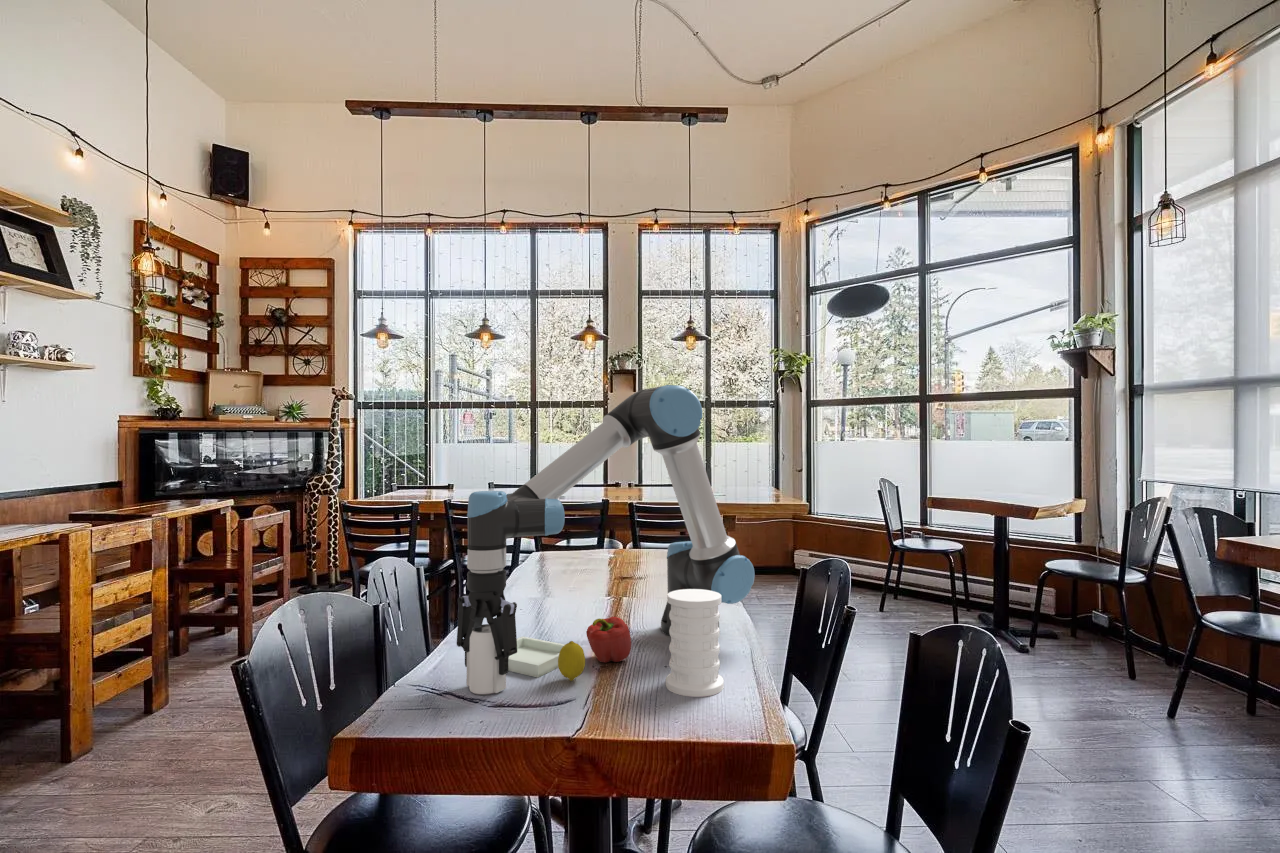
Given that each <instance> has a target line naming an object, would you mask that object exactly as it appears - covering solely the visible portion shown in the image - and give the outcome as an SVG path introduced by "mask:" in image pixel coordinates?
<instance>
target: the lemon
mask: <svg viewBox="0 0 1280 853" xmlns="http://www.w3.org/2000/svg"><path fill="white" fill-rule="evenodd" d="M585 666H586V654H585V651H584V648H583V647H582V646H581V645H580V644H579V643H576V642H575V641H573V640H571V641H569V642H567V643H566V644H565V645H564V646H563V647H562V648H561V650H560V653H559V657H558V667H559V668H558V671H559V673H560V674H561V675H562V676H563V677H565V678H567V679H568V680H569V681H570V682H572V681H574V680H575V679H576V678H578V677H580V676H581V675H582V674H583V672H584V670H585Z"/></svg>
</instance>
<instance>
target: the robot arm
mask: <svg viewBox="0 0 1280 853" xmlns="http://www.w3.org/2000/svg"><path fill="white" fill-rule="evenodd" d="M702 419H703V407H702V404H701V402H700V399H699V398H698V396H697V395H696V394H695V393H694V392H693V391H692V390H691V389H689V388H688V387H685V386H683V385H680V384H679V385H677V384H676V385H673V384H666V385H662V386H661V385H660V386H656V387H651V388H643V389H640V390H637V391H636V392H634V393H632V394H631V395H630V396H628V397H627V398H625V399H624V400H623V401H622V402H620V403H619V404H618V405H617V406H616V407H614V408H613V409H612V410H611V411H610V412H607V414H605V415H604V416H603V417H602V423H600V424H599V425H598V426H597V427H596V428H593V430H591V431H590V432H589V433H588V434H587V435H585V436H584V437H582V438H581V439H580V440H579V441H578V442H576V443H575V444H574V445H572V446H571V447H570V448H569V449H568V450H566V451H565V452H563V453H562V454H561V455H560V456H558V457H557V458H556V459H554V460H553V461H552V462H551V463H549V464H548V465H547V466H546V467H544V468H543V469H542V470H540V471H539V472H538V473H536V475H534V476H533V477H531V478H530V479H529V480H528V481H526V482H525V483H524V484H523V485H521V486H519V487H518V488H517V489H516V490H514V491H513V492H512V493H506V492H505V491H502V490H478V491H473V492H472V493H471V494H469V496H468V502H467V514H466V517H467V557H466V558H467V561H466V562H467V563H466V568H467V569H468V572H467V573H466V576H467V577H466V579H467V580H466V584H467V585H466V588H467V591H469V593H468V594H467V595H463V596H460V597H458V598H457V605H458V619H457V620H458V621H457V632H456V647H458V648H459V647H461V648H462V649H463V652H464V666H465V668H466V686H467V687H469V652H470V635H471V633H472V628H474V629H476V628H479V627H480V626H481V625H483V623H484V620H485V619H486V624H490V628H491V631H492V636H493V640H494V645H495V649H496V653H497V657H494V694H498V693H499V692H501V691H503V690H505V689H507V674H508V672H509V671H508V658H509V656H511V655H513V654H515V653H517V627H516V626H517V624H516V622H517V621H516V613H517V606H518V603H517V602H515V601H514V602H513V601H512V602H510V601H507V600H506V596H505V594H504V591H505V590H506V587H507V571H506V570H505V569H504V568H505V567H506V565H507V539H509V538H512V539H513V538H518V537H519V538H520V537H537V536H539V537H540V536H545V537H546V536H549V535H550V536H551V535H557V534H559V533H561V532H562V530H563V528H564V526H565V519H566V518H565V515H566V514H565V513H566V512H565V509H564V505H563V503H562V501H561V500H560V498H561V497H562V496H563V495H565V494H566V493H567V492H568V491H569V490H571V489H572V488H573V487H574V486H576V485H577V484H578V483H579V482H581V481H582V480H583V479H585V478H586V477H587V476H588V475H590V474H591V473H592V472H593V471H594V470H596V469H597V468H598V467H599V466H600V465H602V464H603V463H604V462H605V461H607V460H608V459H609V458H610V457H612V456H613V455H614V454H616V452H618V451H619V450H620V449H622V448H626V449H627V448H629V447H631V446H632V445H633V444H634V443H636V442H637V441H639V440H642V439H644V438H645V439H646V438H649V440H650V443H651V446H652V449H653V451H654V452H657V453H658V454H660V455H662V459H663V461H664V464H665V468H666V470H667V474H668V476H669V479H670V482H671V485H672V488H673V491H674V494H675V496H676V497H675V498H676V499H677V504H678V506H679V509H680V511H681V516H682V517H683V521H684V525H685V528H686V530H687V532H688V536H689V538H690V540H687V541H686V540H685V541H675V542H671V543H670V544H668V546H667V553H666V560H667V561H666V564H667V580H666V581H667V594H668V593H670V592H672V591H675V590H682V589H703V590H710V591H714V592H717V593H720V594H721V604H722V603H723V604H728V605H733V604H734V605H735V604H738V603H739V602H742V601H743V600H744V599H746V597H747V596H748V595H749V594H750V592H751V591H752V590H751V589H752V586H753V585H754V582H755V575H756V574H755V568H754V565H753V563H752V562H751V561H750V559H749V558H747V557H746V556H745V555H741V554H740V551H739V548H738V544H737V542H736V539H735V538H734V537H731V536H729V535H727V532H726V528H725V525H724V523H723V522H724V521H723V518H722V517H721V512H720V510H719V507H718V504H717V501H716V498H715V495H714V492H713V489H712V486H711V483H710V480H709V476H708V473H707V470H706V468H705V464H704V462H703V458H702V455H701V453H700V452H701V451H700V449H699V446H698V441H699V439H700V438H701V436H702V434H701V432H700V426H701V423H702V422H701V420H702ZM663 610H664V611H663V613H662V617H661V620H660V631H661V632H662V633H663V634H665V635H667V636H670V633H669V629H670V626H671V620H670V617H669V613H670V610H671V604H669V603H668V602H667V601H666V603H665V608H664V609H663ZM718 627H719V628H720V620H719V621H718ZM502 650H503V651H502Z"/></svg>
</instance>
